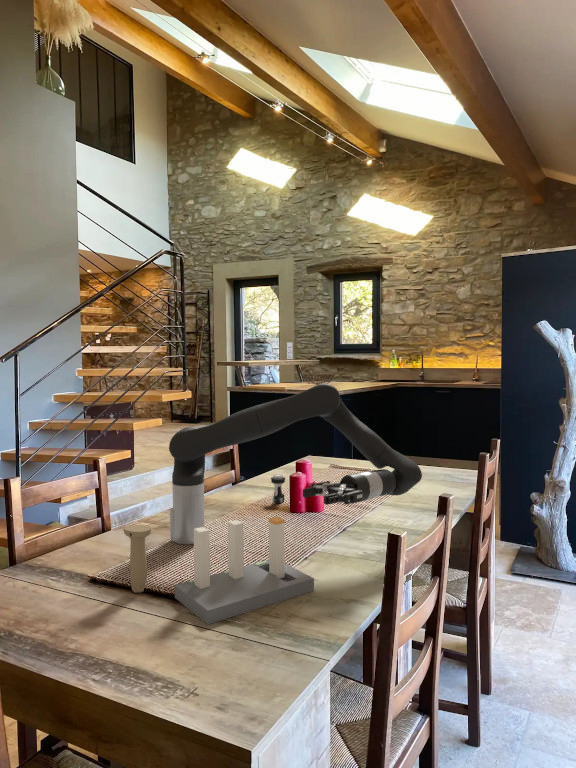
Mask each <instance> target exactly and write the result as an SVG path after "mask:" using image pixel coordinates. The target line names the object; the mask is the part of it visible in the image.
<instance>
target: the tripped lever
mask: <svg viewBox="0 0 576 768" xmlns="http://www.w3.org/2000/svg"><path fill="white" fill-rule="evenodd" d="M285 522H286V521H285V519H284V518H282V517H279V516H274V517H269V518H268V560H269V573H270V574H272V575H274V576H276V577H278V578H279V579H281V578H284V577H285V564H286V562H285V555H286V554H285Z"/></svg>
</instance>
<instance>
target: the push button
mask: <svg viewBox="0 0 576 768" xmlns="http://www.w3.org/2000/svg"><path fill="white" fill-rule="evenodd" d="M270 481H271V483H272V484H273V485H274V491H273V496H272V500H271V502H272V503H271V504H272V505H273V504H274V505H278V504H281V503H284V502H285V494H284V493H283V492H282V491H283V489H282V487H283V486H282V485H283V484H285V482H286V477H285V476H283V474H281V473H280V474H279V473H277V474H273V475H272V477H270Z"/></svg>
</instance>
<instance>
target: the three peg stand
mask: <svg viewBox="0 0 576 768" xmlns="http://www.w3.org/2000/svg"><path fill="white" fill-rule="evenodd" d="M227 534H228V535H227V540H228V541H227V544H228V545H227V549H228V551H227V552H228V553H227V554H228V555H227V556H228V557H227V558H228V570H225V571H222V572H217V573H215V574H211V567H210V566H211V562H210V561H211V559H210V557H211V553H210V552H211V548H210V546H211V545H210V543H211V542H210V529H208V528H204V527H200V528H195V529H194V544H193V566H194V569H193V572H194V578H193V579H192V580H188V581H184V582H180V583H175V584H174V599H176V600H177V601H178V602H180V603H181V604H182V605H183V606H185V608H187V609H188V610H190V611H191V612H192V613H193V614H194V615H196V616H197V617H198V618H199V619H200V620H201V621H202V622H204V623H206V625H212V624H214V623H217V622H221V621H224V620H226V619H231V618H234V617H235V616H240V615H242V614H245V613H248V612H251V611H255V610H257V609H261V608H263V607H268V606H270V605H273V604H276V603H280V602H282V601H286V600H290V599H292V598H295V597H298V596H301V595H305V594H308V593H311V592H313V591H314V590H315V578H314V577H312V576H310V575H309V574H307V573H305V572H303V571H301V570H299V569H297V568H295V567H293V566H291V565H289V564H287V563H285V577H284V578H281V579H279V578H278V577H276V576H274V575H272V574H270V573H269V559H266V560H263V561H260V562H259V561H258V562H256V563H252V564H247V565H244V564H245V563H244V561H245V557H244V556H245V555H244V551H245V550H244V544H245V543H244V542H245V541H244V522H242V521H240V520H238V519H235V520H229V521H228V522H227Z"/></svg>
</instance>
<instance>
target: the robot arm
mask: <svg viewBox="0 0 576 768" xmlns="http://www.w3.org/2000/svg"><path fill="white" fill-rule="evenodd" d="M314 417H320V418H322V419H323V420H325V421H326V422H327V423H330V424H331V425H332V426H333V427H334V428H335V429H337V430H338V432H341V434H343V435H344V436H345V438H346V439H347V440H348V441H349V442H350V443H351V444H352V445H353V446H354V447H355V448H356V449H357V450H358V451H359V452H360V454H362V455H363V457H365V459H367V460H368V461H369V462H370V463H371V464H372V465H373V466H374V467H375V468H376V469H377V470H371V471H361V472H357V473H355V472H354V473H350V474H346V475H344V476H343V477H342V478H341V480H340V481H335V482H331V481H330V480H327V481H320V482H315V483H311V484H310V487H306V488H303V489H302V497H303V498H304V499H305V498H307V499H308V498H312V497H317V496H318V497H320V496H322V497H323V505H325V506H328V505H333V504H342V503H343V505H350V504H352V505H353V504H357V503H358V504H359V503H361V502H367V501H369V500H374V499H375V498H378V497H382V496H401V495H403V494H407V493H408V492H409V491H411V489H413V488H414V487H415V486H416V485H418V483H420V481H421V480H422V479H423V478H422V477H423V473H422V470H421V468H420V467H419V465H418V464H417V463H416V462H415V461H414V460H413V459H411V458H409V457H407V456H405V455H404V454H402V453H400V452H399V451H397V450H395V449H393V448H392V447H391V446H390V445H389V444H387V442H385V440H384V439H382V437H380V436H379V435H378V434H377V433H376V432H375V431H373V430H372V429H371V428H370V427H368V425H366V424H365V423H363V422H362V421H360V420H359V418H358V417H356V416H355V414H353V412H351V411H350V410H349V409H348V408H347V406H346V405H345V403H344V402H343V400H342V399H341V395H340V392H339V389H337V388H336V387H335V386H334V385H333V384H329V383H318V384H317V385H314V386H313V387H310V388H308V389H305V390H303V391H301V392H299V393H296V394H294V395H291V396H288V397H285V398H279V399H275V400H272V401H268V402H264V403H260V404H257V405H254V406H251V407H249V408H245V409H242V410H239V411H237V412H235V413H232V414H230V415H228V416H226V417H224V418H222V419H220V420H219V421H217V422H215V423H212V424H209V425H205V426H201V427H198V428H197V427H191V426H189V427H187V426H186V427H184V428H181V429H180V430H179V431H178V430H177V432H175V434H173V436H172V437H171V439H170V442H169V444H168V445H169V446H168V449H169V450H168V451H169V453H170V455H171V457H172V458H173V459H174V460H173V462H174V463H173V471H172V475H171V480H172V481H171V484H172V486H171V487H172V491H171V492H172V508H170V510H169V513H170V514H169V526H170V527H169V529H170V533H169V535H170V542H172V543H175V544H178V545H194V529H195V528H200V527H204V528H205V525H206V524H205V470H206V455H207V454H209V453H211V452H214V451H217V450H219V449H220V450H221V449H222V448H226V447H232V446H236V445H239V444H245V443H247V442H250V441H253V440H254V441H255V440H257V439H260V438H263V437H266V436H269V435H271V434H274V433H277V432H279V431H280V430H283V429H284V428H286V427H288V426H290V425H292V424H294V423H296V422H299V421H302V420H306V419H310V418H314ZM386 467H389V468H391V469H393V470H392V471H391V470H388V469H383V468H386Z"/></svg>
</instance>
